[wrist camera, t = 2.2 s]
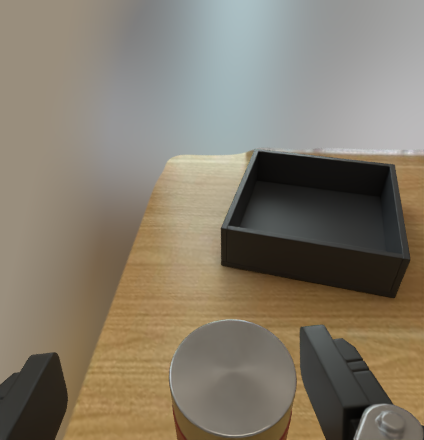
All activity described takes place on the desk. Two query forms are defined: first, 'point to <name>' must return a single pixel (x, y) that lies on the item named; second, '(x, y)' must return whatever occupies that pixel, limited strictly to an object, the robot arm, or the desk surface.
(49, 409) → the robot arm
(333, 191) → the tote
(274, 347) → the tin
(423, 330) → the desk surface
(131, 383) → the desk surface
